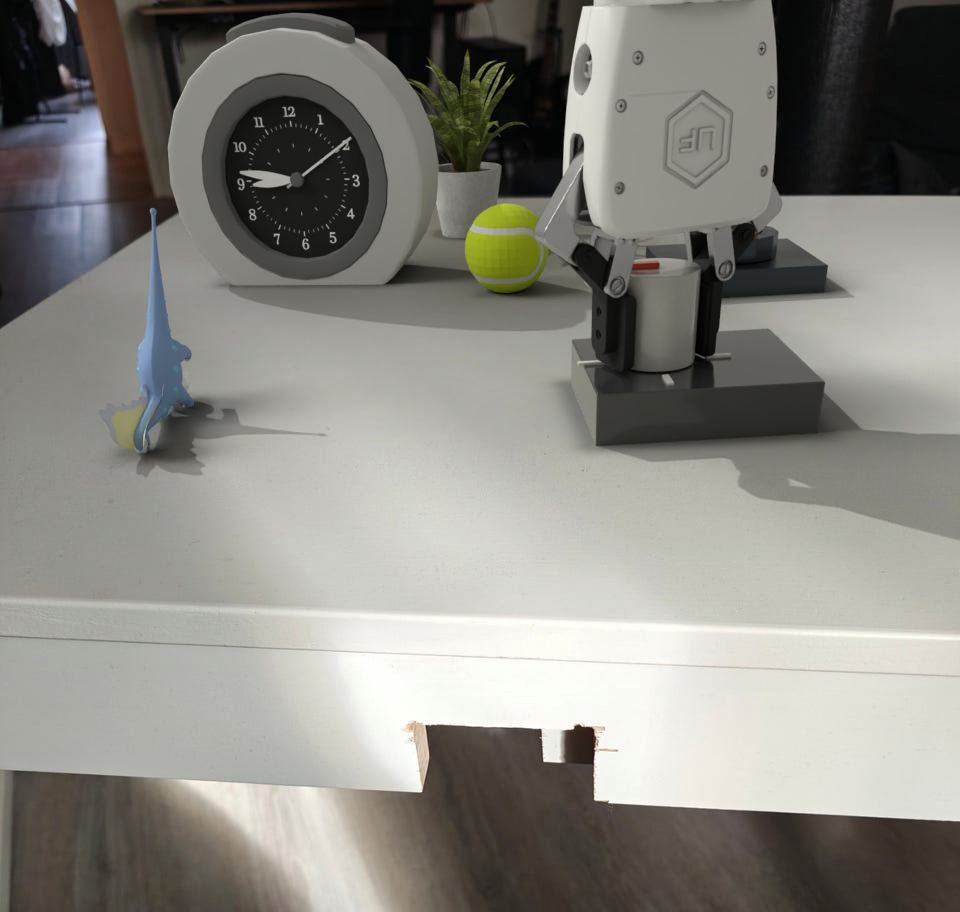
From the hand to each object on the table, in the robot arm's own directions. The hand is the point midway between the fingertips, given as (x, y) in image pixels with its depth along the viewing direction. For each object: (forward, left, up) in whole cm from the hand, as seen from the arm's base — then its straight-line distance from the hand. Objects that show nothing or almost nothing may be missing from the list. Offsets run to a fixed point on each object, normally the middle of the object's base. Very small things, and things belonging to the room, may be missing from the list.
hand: (654, 354), depth 57 cm
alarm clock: (+22, -38, -4) cm, 44 cm away
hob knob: (0, 0, 0) cm, 0 cm away
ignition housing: (-12, -28, -3) cm, 31 cm away
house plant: (+8, -54, -4) cm, 55 cm away
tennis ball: (+6, -29, -4) cm, 30 cm away
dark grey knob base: (-2, 0, -3) cm, 4 cm away
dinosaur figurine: (+28, -3, -4) cm, 29 cm away
